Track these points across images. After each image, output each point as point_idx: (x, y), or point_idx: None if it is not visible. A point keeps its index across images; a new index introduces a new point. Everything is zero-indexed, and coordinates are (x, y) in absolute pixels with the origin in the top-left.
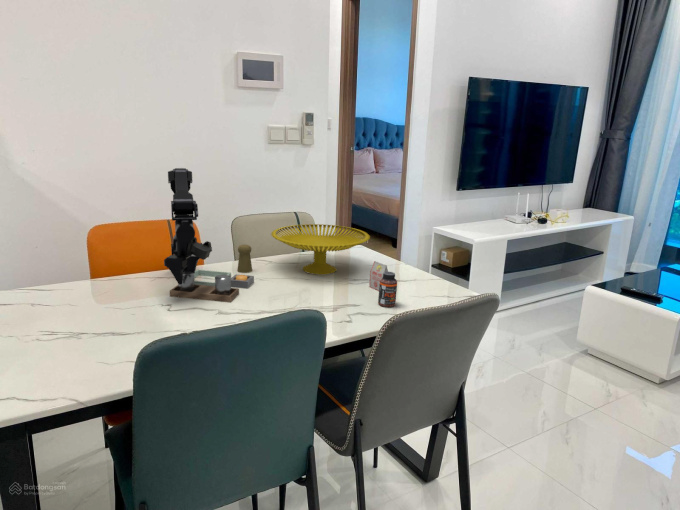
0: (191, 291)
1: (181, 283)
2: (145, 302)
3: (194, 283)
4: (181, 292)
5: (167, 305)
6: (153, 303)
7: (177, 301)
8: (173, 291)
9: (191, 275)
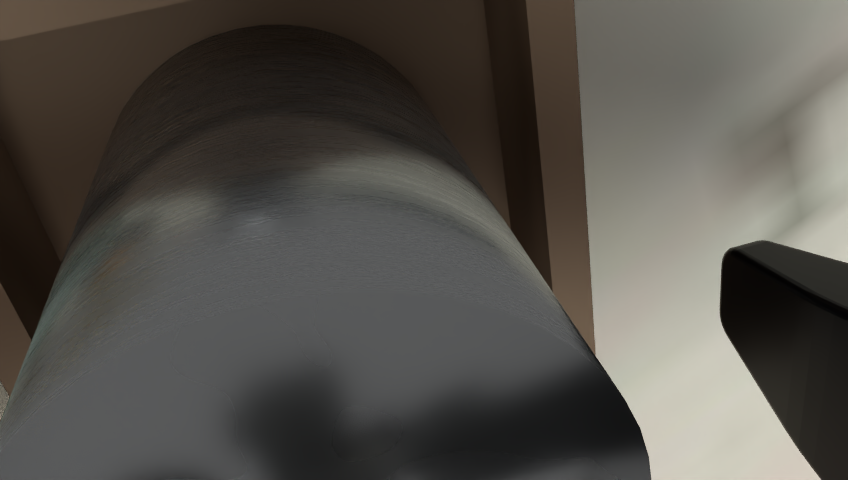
0: (347, 58)
1: (784, 248)
2: (741, 456)
3: (169, 141)
4: (580, 174)
5: (793, 157)
6: None
7: (586, 141)
8: (590, 335)
9: (427, 290)
